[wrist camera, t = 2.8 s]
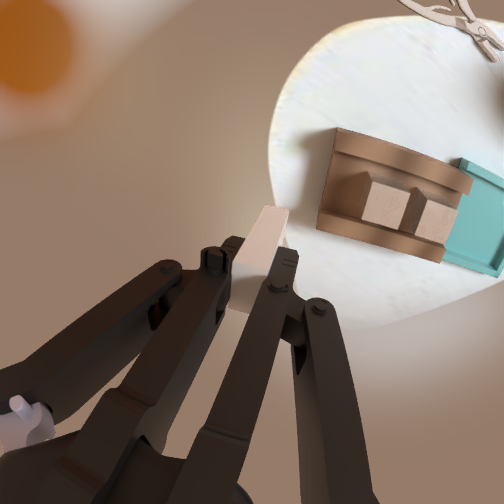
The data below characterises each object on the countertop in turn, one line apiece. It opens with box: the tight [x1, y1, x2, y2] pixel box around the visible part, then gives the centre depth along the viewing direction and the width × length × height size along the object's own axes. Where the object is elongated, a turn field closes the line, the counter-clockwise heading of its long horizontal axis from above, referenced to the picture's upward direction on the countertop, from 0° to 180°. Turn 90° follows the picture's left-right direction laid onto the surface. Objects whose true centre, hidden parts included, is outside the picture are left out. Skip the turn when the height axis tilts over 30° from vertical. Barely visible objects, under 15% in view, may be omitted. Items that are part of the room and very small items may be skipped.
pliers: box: [397, 0, 504, 62], centre depth 15 cm, size 10×2×15 cm
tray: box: [442, 158, 504, 278], centre depth 26 cm, size 13×13×2 cm
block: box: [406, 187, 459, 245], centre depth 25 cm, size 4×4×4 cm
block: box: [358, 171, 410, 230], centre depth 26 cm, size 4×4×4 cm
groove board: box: [316, 127, 474, 264], centre depth 28 cm, size 16×11×4 cm
